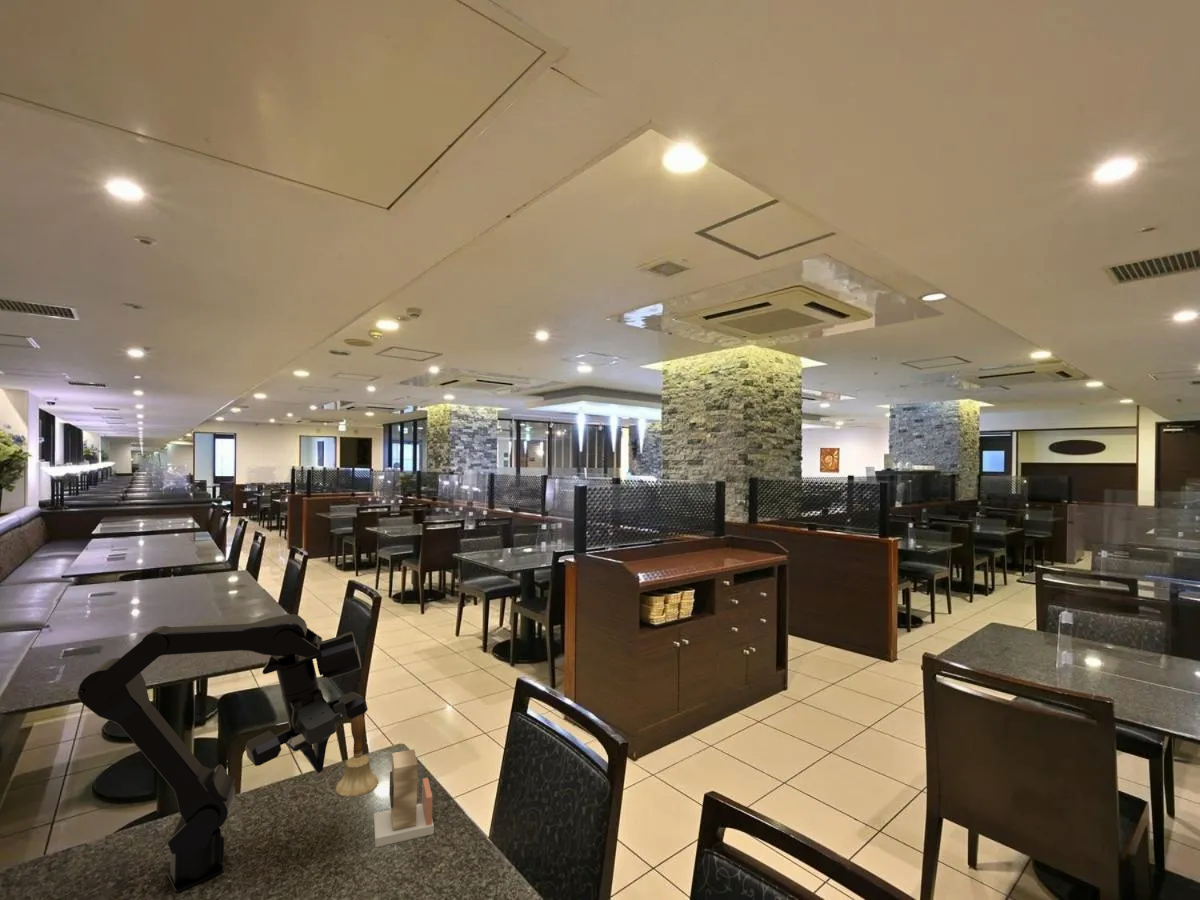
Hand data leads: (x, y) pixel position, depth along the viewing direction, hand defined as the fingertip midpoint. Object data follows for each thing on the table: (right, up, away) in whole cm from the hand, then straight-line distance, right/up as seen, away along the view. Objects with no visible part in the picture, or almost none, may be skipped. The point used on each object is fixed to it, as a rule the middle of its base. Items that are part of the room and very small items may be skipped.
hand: (319, 771), depth 102 cm
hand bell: (-1, -14, +19) cm, 23 cm away
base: (+13, -13, +5) cm, 19 cm away
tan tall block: (+13, -12, +5) cm, 18 cm away
